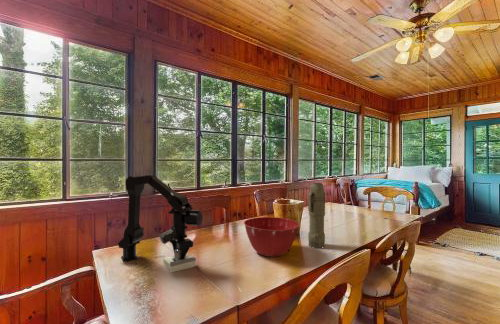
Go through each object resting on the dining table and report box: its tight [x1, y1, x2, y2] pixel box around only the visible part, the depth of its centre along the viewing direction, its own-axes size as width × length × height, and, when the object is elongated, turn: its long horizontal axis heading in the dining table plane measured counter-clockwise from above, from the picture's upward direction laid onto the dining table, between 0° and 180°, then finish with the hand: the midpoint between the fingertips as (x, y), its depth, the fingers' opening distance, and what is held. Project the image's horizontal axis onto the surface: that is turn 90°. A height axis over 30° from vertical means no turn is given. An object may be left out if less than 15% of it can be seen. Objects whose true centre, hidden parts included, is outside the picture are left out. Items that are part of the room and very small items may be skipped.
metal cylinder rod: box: [173, 249, 180, 261], centre depth 116 cm, size 4×4×7 cm
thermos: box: [307, 182, 326, 249], centre depth 143 cm, size 9×12×35 cm
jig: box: [162, 253, 197, 273], centre depth 116 cm, size 11×11×4 cm
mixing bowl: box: [243, 216, 300, 258], centre depth 133 cm, size 28×28×16 cm
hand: (178, 257), depth 116 cm, fingers open, 7 cm apart
